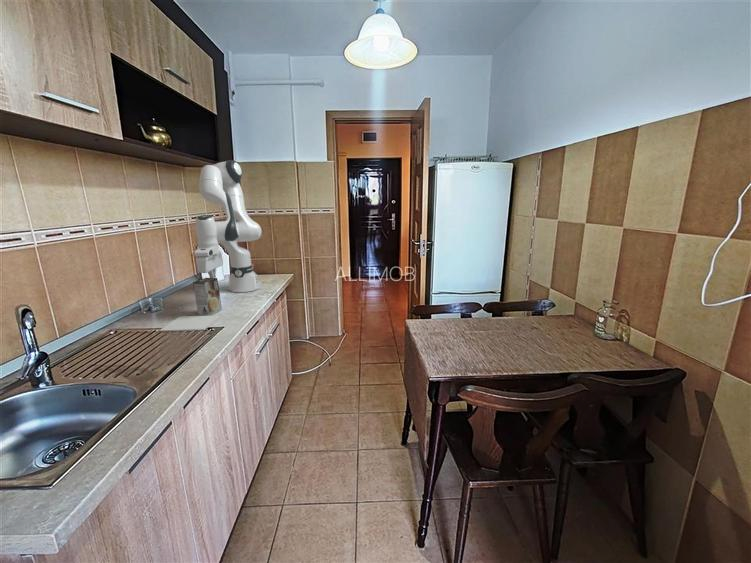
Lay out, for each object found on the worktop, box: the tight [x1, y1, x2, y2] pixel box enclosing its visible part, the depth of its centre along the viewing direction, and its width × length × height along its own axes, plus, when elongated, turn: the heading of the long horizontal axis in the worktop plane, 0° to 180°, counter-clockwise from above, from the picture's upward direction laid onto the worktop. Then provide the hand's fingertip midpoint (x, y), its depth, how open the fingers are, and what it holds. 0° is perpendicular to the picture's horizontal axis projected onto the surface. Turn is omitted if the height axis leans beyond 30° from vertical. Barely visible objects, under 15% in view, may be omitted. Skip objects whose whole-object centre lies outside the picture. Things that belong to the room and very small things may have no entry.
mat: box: [159, 314, 221, 332], centre depth 146 cm, size 16×18×1 cm
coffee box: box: [192, 277, 223, 316], centre depth 157 cm, size 9×6×16 cm
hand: (212, 278), depth 163 cm, fingers closed
